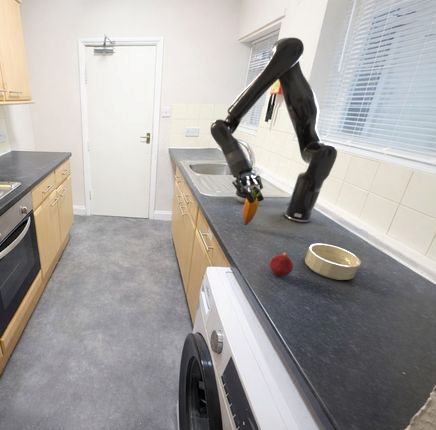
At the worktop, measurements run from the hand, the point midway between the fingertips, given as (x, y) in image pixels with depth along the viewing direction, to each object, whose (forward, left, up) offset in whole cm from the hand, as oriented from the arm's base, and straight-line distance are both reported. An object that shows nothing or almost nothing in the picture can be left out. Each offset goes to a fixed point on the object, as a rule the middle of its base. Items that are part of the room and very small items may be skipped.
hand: (256, 201), depth 102 cm
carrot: (-1, -1, -11) cm, 11 cm away
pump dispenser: (-33, +5, -13) cm, 36 cm away
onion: (+30, +2, -13) cm, 32 cm away
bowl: (+22, +19, -13) cm, 31 cm away
